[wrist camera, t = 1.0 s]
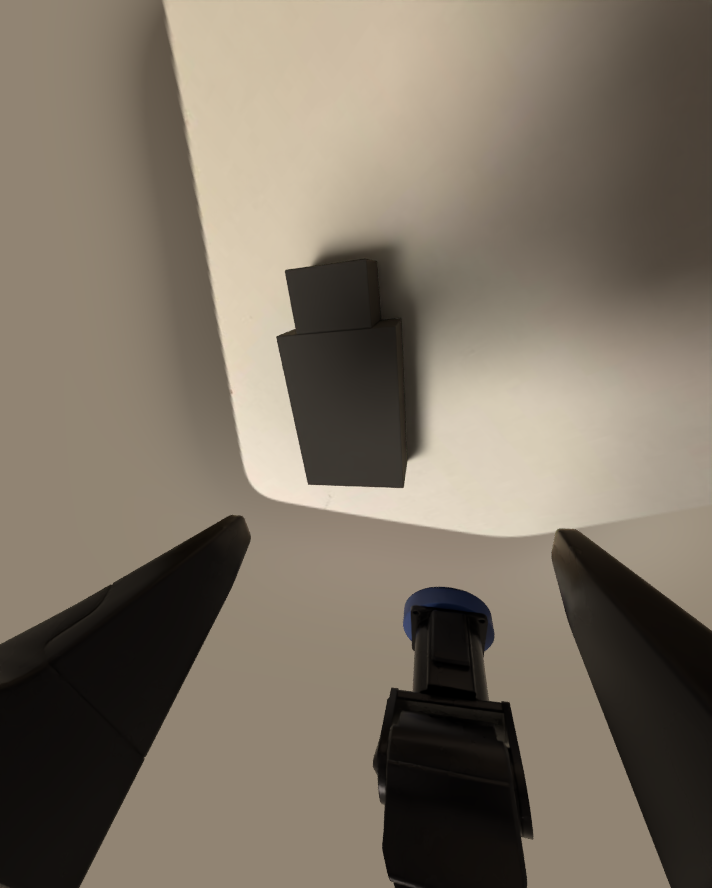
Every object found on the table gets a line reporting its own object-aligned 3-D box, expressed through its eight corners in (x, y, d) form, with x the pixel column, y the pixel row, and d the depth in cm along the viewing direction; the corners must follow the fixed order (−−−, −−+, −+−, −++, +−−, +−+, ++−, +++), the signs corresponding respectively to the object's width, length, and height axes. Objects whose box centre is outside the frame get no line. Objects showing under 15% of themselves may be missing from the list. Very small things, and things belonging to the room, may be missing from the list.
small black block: (399, 257, 16) (392, 254, 13) (407, 461, 21) (403, 488, 18) (288, 273, 17) (261, 273, 14) (322, 460, 22) (307, 484, 20)
